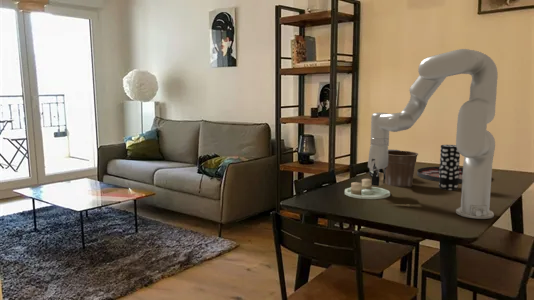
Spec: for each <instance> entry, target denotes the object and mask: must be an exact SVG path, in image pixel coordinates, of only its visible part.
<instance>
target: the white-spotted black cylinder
mask: <svg viewBox="0 0 534 300" xmlns="http://www.w3.org/2000/svg"><path fill="white" fill-rule="evenodd" d="M460 155H461V154H460V153H459V152H458V150H457V147H456V144H442V145H440V157H439V167H440V174H439V181H438V189H440V190H446V191H457V190H459V183H458V181H459V167H460V162H461V161H460V160H461V159H460V158H461V156H460Z"/></svg>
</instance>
